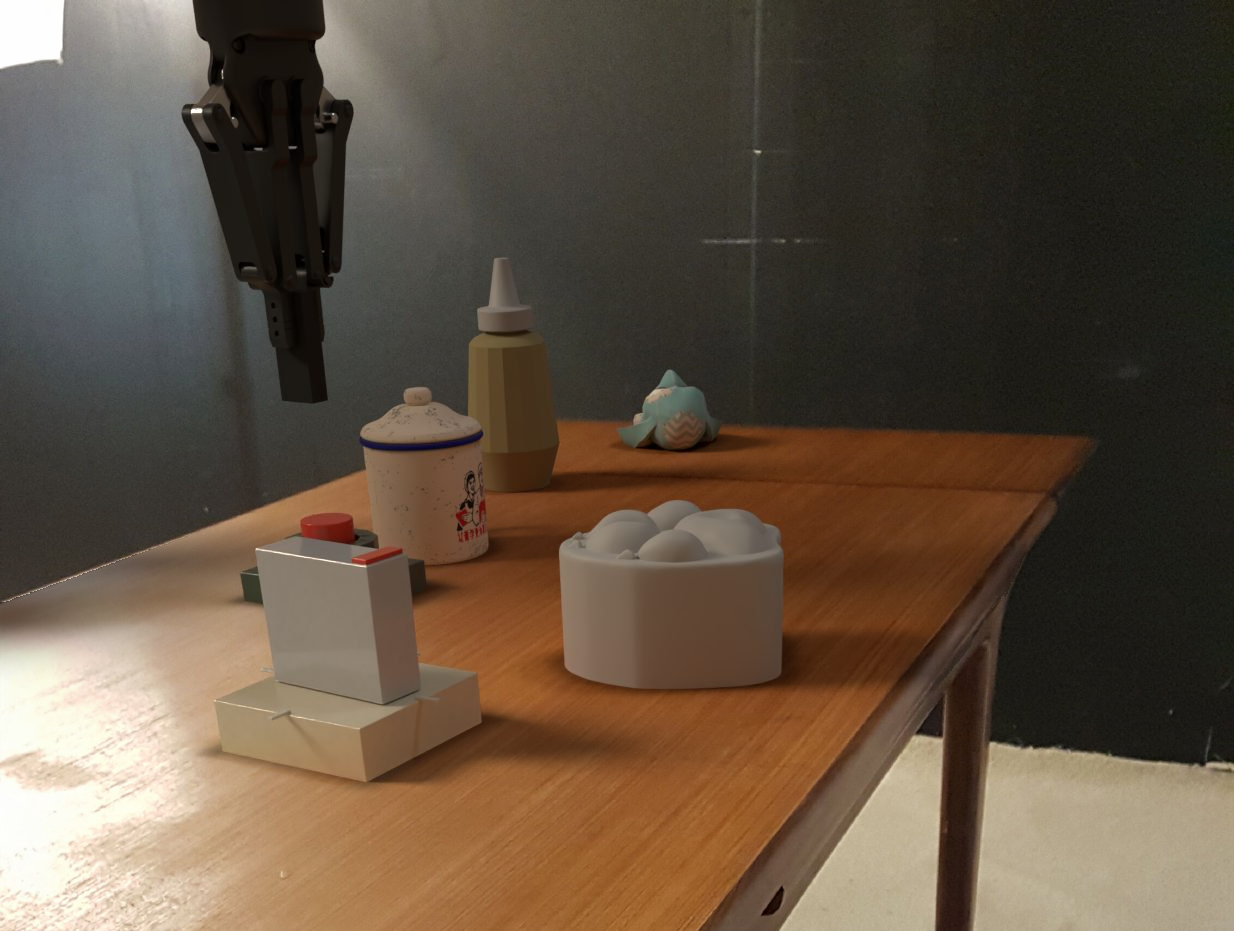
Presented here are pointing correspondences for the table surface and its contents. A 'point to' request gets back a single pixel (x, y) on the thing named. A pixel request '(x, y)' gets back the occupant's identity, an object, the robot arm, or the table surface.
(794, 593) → the table surface
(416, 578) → the button box
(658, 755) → the table surface
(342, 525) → the red button
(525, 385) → the squeeze bottle
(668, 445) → the stuffed animal
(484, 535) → the teacup with lid
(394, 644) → the tap lever
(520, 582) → the table surface
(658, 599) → the lumpy-topped squat cylinder
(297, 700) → the panel
